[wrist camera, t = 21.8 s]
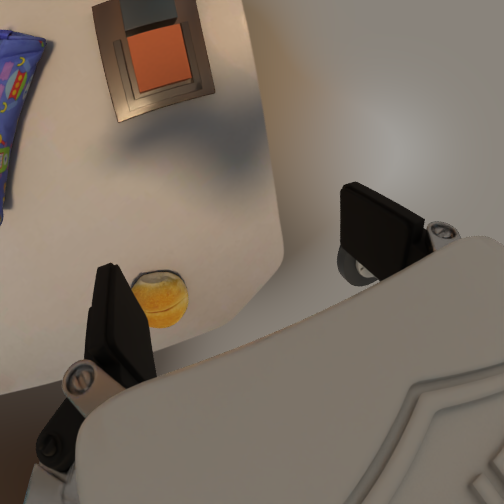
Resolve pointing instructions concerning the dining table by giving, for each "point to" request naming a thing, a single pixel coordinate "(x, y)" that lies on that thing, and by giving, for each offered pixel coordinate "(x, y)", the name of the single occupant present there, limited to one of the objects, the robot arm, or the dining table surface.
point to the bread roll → (161, 298)
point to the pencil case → (14, 90)
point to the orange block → (159, 58)
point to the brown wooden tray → (119, 59)
